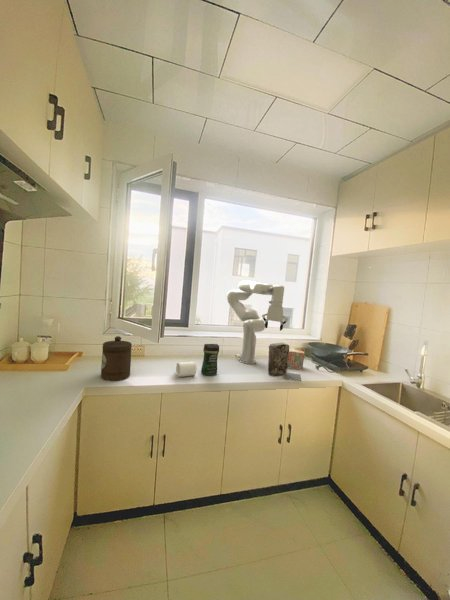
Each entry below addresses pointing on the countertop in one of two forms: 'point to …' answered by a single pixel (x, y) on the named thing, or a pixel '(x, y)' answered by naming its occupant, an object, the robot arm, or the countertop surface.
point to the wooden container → (116, 360)
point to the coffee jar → (210, 359)
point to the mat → (292, 376)
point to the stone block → (278, 358)
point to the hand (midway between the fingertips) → (273, 329)
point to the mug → (186, 369)
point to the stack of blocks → (295, 359)
